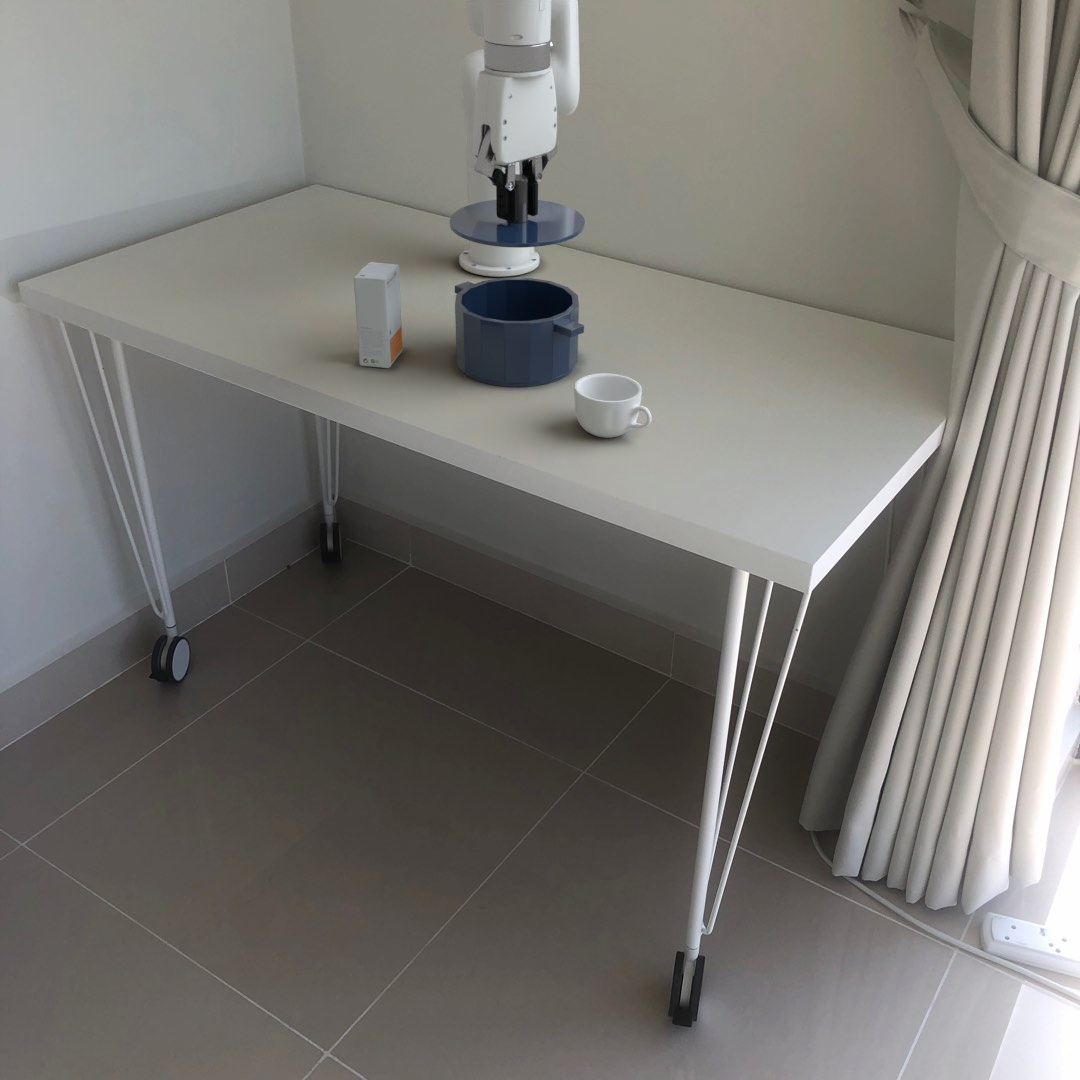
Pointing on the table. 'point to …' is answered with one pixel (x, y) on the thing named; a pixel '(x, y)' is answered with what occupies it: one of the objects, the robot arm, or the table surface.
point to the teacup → (609, 404)
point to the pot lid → (527, 232)
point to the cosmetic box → (378, 314)
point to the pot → (516, 331)
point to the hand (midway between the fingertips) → (517, 215)
